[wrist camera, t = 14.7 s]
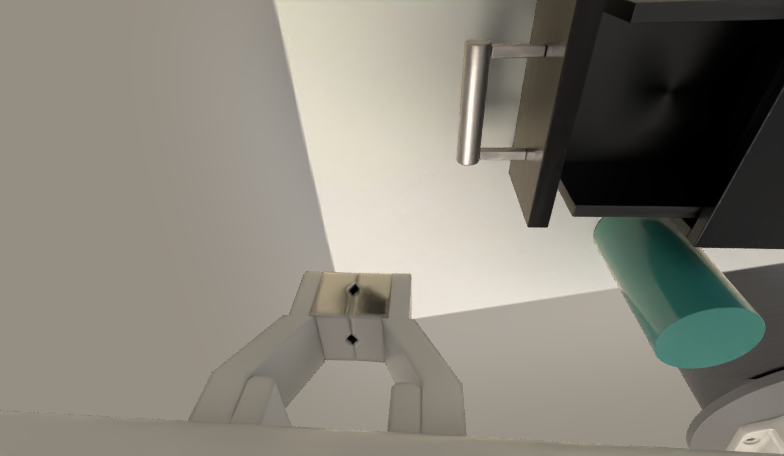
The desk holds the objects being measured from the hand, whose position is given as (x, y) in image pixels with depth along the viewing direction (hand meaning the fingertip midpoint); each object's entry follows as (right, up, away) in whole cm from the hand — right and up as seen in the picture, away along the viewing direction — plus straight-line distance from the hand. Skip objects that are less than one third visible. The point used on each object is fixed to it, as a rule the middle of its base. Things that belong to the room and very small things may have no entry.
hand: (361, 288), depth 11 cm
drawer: (+14, +11, +13) cm, 22 cm away
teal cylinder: (+21, +2, +21) cm, 29 cm away
